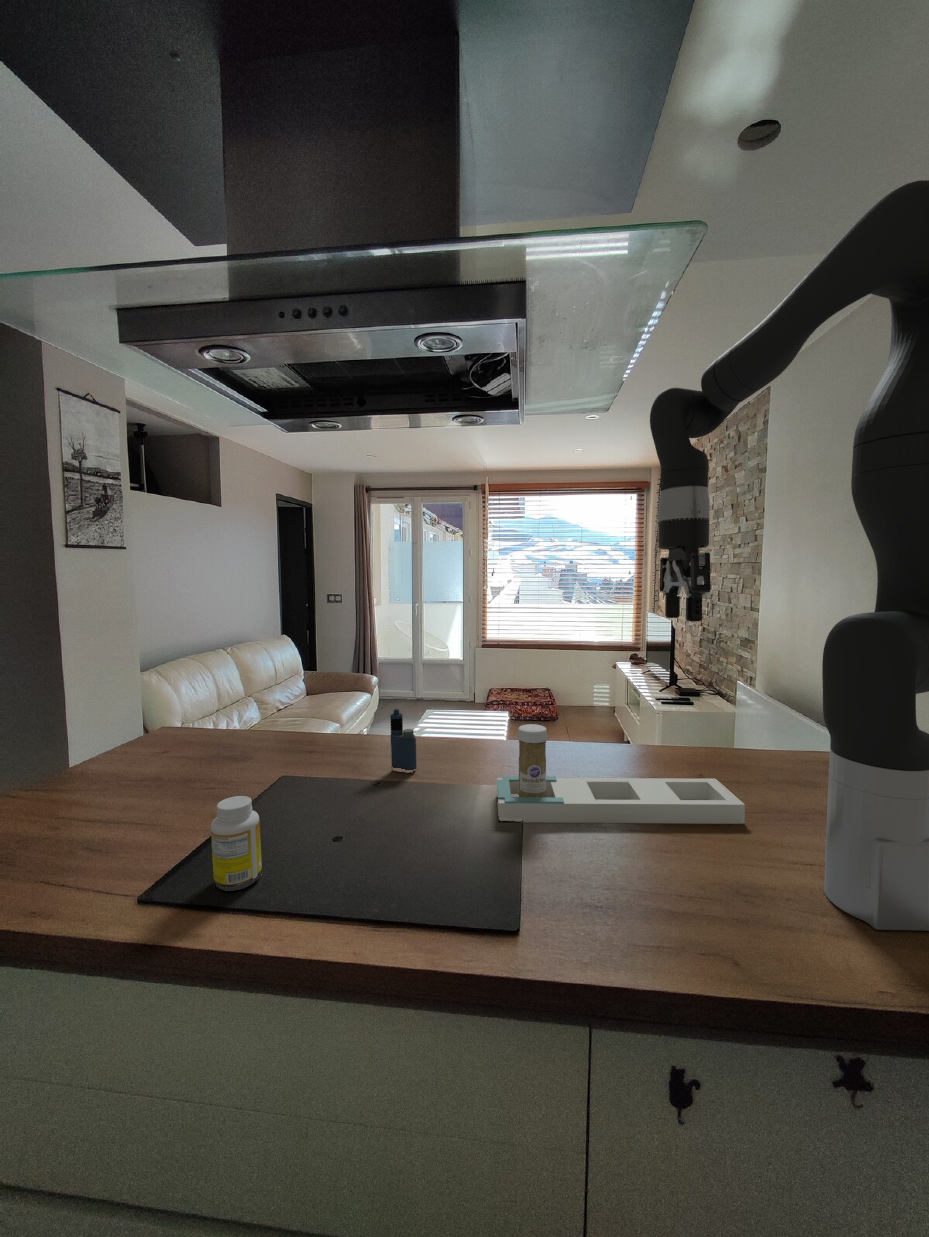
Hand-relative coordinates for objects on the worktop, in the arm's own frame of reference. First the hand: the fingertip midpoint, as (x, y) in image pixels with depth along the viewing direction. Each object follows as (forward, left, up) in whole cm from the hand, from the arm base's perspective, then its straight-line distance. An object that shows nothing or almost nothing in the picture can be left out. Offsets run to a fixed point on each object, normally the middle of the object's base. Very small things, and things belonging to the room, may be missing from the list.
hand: (682, 619), depth 84 cm
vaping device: (+13, +48, -31) cm, 59 cm away
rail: (-3, +12, -30) cm, 33 cm away
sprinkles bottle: (-3, +25, -31) cm, 39 cm away
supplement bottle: (-24, +63, -31) cm, 74 cm away
